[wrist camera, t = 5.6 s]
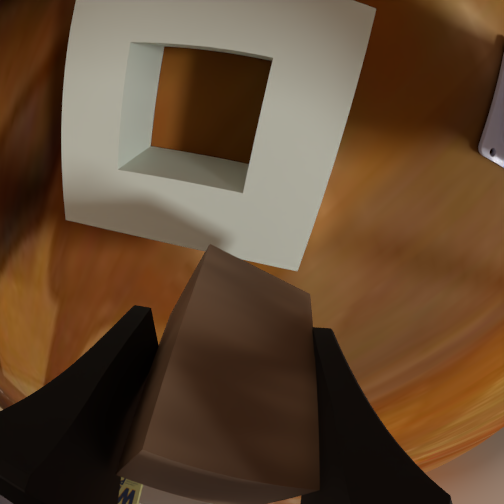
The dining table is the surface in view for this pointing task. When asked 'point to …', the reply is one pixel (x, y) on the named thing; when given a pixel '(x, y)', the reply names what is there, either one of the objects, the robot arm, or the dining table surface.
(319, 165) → the socket block
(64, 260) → the dining table surface
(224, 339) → the peg
